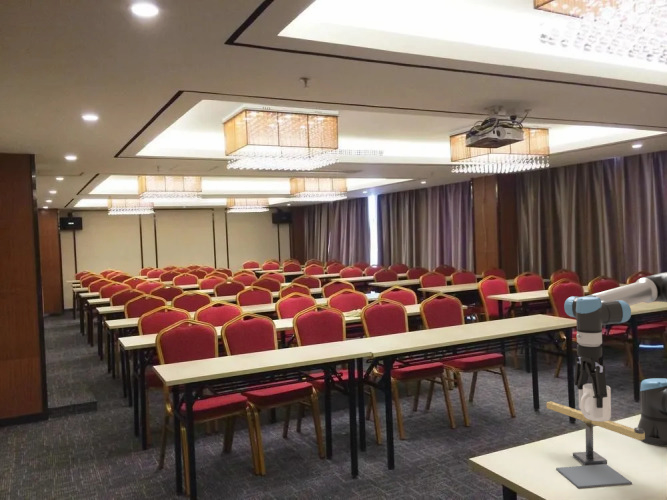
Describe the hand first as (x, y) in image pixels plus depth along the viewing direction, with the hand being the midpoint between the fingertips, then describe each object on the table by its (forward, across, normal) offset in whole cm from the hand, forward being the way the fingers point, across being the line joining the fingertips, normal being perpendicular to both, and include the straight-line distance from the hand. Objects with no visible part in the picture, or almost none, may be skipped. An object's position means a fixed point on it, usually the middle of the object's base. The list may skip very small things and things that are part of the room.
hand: (590, 412), depth 182 cm
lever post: (+21, -12, +6) cm, 25 cm away
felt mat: (+21, 0, 0) cm, 21 cm away
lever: (+7, -11, +6) cm, 14 cm away
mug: (+2, +1, 0) cm, 2 cm away
